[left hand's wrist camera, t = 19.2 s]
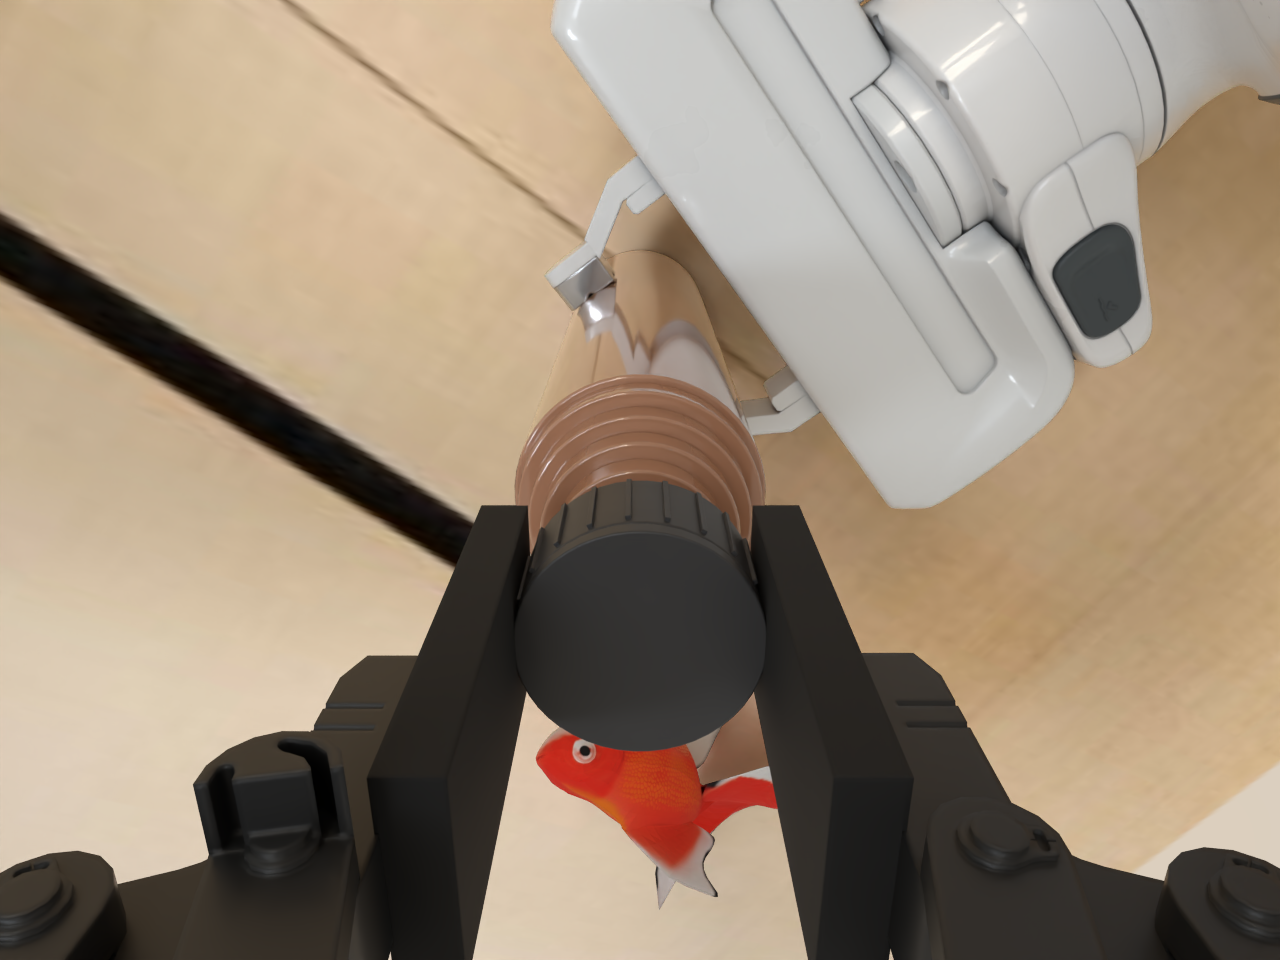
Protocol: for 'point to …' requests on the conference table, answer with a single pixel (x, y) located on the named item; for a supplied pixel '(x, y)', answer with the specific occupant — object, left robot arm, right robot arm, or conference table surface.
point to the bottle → (640, 401)
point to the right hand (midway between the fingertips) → (619, 369)
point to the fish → (657, 799)
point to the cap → (640, 618)
